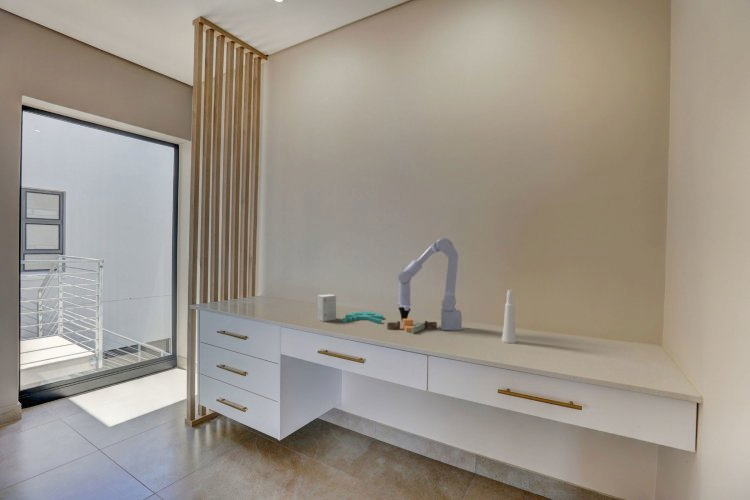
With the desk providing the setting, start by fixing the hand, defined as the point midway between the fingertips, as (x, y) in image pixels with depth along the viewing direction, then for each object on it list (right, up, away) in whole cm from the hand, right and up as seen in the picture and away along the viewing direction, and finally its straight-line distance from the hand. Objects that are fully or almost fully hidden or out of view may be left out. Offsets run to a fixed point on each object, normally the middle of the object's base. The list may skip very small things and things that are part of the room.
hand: (404, 321), depth 177 cm
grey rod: (+6, -2, -12) cm, 13 cm away
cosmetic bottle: (+43, -3, -26) cm, 50 cm away
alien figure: (-21, -1, +13) cm, 24 cm away
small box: (-40, -1, +9) cm, 41 cm away
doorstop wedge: (+1, -2, -10) cm, 10 cm away
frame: (+4, -2, -7) cm, 9 cm away
